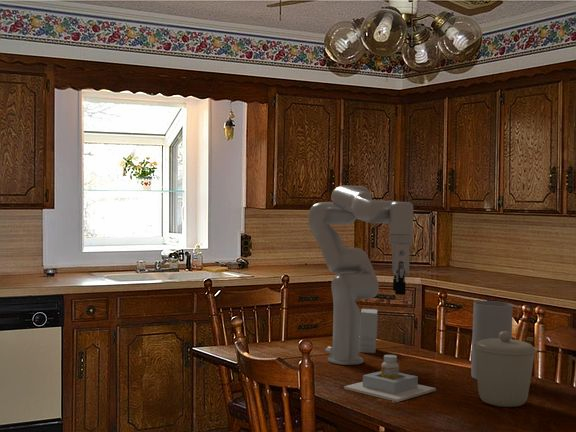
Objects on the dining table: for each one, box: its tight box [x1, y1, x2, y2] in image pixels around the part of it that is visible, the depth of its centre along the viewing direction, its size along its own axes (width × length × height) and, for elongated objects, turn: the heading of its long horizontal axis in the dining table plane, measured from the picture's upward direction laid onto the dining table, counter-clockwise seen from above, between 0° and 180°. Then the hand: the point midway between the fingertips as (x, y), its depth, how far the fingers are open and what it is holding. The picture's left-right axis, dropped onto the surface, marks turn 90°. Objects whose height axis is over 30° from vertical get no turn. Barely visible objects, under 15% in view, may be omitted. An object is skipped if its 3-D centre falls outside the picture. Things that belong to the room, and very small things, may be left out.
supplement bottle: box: [380, 354, 400, 380], centre depth 243 cm, size 5×5×10 cm
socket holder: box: [343, 370, 437, 403], centre depth 243 cm, size 20×20×4 cm
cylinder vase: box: [470, 300, 514, 381], centre depth 261 cm, size 12×12×25 cm
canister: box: [473, 331, 538, 408], centre depth 231 cm, size 18×18×21 cm
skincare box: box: [359, 308, 379, 354], centre depth 303 cm, size 8×7×16 cm
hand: (399, 292), depth 256 cm, fingers open, 9 cm apart
